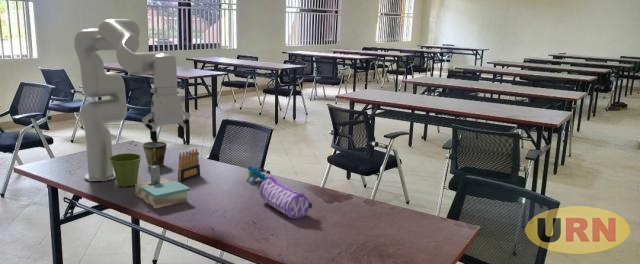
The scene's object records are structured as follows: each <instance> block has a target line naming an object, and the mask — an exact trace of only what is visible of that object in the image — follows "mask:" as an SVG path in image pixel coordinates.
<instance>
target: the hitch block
mask: <svg viewBox="0 0 640 264" xmlns="http://www.w3.org/2000/svg"><path fill="white" fill-rule="evenodd" d="M167 182H171V180H169V179H167V178H160V184H161V183H167ZM146 186H151V180H150V181H145V182H141V183H137V184H135V186H134V195H135V194H136V195H135V196H137V195H138V196H139V197H140V199H141V198H142V199H143V200H142V199H141V200H142V201H144V202H145V201H146V204H148V203H149V204H150V205H149V204H148V205H149V206H151V207H152V206H153V207H152V208H153V209H155V208H156V209H160V208H163V207H164V208H165V207H168V206H173V205H177V204H180V203H181V204H183V203H186V202H188V195H187V193H188V191H187V192H182V193H178V194H173V195H168V196H164V197H159V198H154V197H153V196H151V195H149V194H148V193H146V192H144V191H143V190H142V187H146ZM138 196H137V197H138ZM139 197H138V198H139Z"/></svg>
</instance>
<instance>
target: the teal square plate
mask: <svg viewBox="0 0 640 264" xmlns="http://www.w3.org/2000/svg"><path fill="white" fill-rule="evenodd" d="M142 190H143V191H144V192H146V193H148V194H149V195H151V196H153V197H154V198H159V197H164V196H168V195H173V194H178V193H182V192H187V193H188V192H190V191H191V187H189V186H187V185H185V184H183V183H182V182H179V181H178V180H173V181H170V182H167V183H161V184H156V185H151V186H146V187H142Z"/></svg>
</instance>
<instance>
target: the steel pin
mask: <svg viewBox="0 0 640 264" xmlns="http://www.w3.org/2000/svg"><path fill="white" fill-rule="evenodd" d="M149 168H150V181H151V185H156V184H160V179H161V173H160V171H161V169H160V168H161V167H159V166H157V165H155V166H151V167H149Z"/></svg>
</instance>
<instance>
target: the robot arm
mask: <svg viewBox="0 0 640 264" xmlns="http://www.w3.org/2000/svg"><path fill="white" fill-rule="evenodd" d="M140 35H141V30H140V26H139V25H138V24H137V22H135V21H134V20H133V19H129V18H109V19H105V20H103V21H101V22H100V23H99V25H98V28H88V29H87V28H86V29H82V30H79V31H78V32H76V34H75V35H74V39H73V40H74V41H73V43H74V44H73V45H74V49H75V53H76V55H77V57H78V62H79V66H80V67H79V68H80V76H81V77H80V78H81V86H82V92H83V94H84V96H86V97H88V98H90V99H91V98H92V99H93V98H101V97H102V98H103V97H109V99H99V100H91V101H89V102H86V103H85V104H83V105H82V106H81V108H80V116H81V119H82V123H83V127H84V134H85V145H86V146H85V147H86V159H87V171H88V172H87V173H86V174H85V175H84V180H85V179H86V180H85V181H87V180H88V182H91V181H102V182H108V180H109V181H112V180H115V179H116V176H115V172H114V168H113V165H112V162H111V160H110V157H111V156H114V155H113V142H112V133H111V132H110V130H109V129H108V128H107V127H106V126H105V125H107V124H112V123H117V122H121V121H124V120H125V119H126V117H127V115H128V107H127V98H126V97H127V96H126V85H125V81H124V79H123V76H122V75H121V74H119V73H118V72H115V71H106V72H105V67H104V61H103V58H102V57H101V56H100V54H99V53H97V52H115V51H116V54H115V56H116V59H117V62H118V65H119V66H120V67H121V68H122V69H124V70H125V72H127V73H129V74H130V75H132V76H146V75H153V88H150V93H152V94H153V95H152V98H151V99H152V100H151V104H150V105H151V107H150V113H148V114H147V115H145V116H143V117H142V118H141V121H142V123H143V125H144V126H145V128H147V129H148V131H149V136H150V138H149V139H150V140H151V142H152V141H153V142H155V143H156V142H157V141H158V130H157V128H158V127H159V126H161V127H163V126H170V125H176V124H177V125H178V126H177V137H178V138H180V139H181V140H183V139H185V138H184V136H185V127H186V125H187V124H188V123H189V120H190V119H191V116H192V114H191V113H189V112H188V111H185V110H183V103H182V98H181V95H180V94H179V93H178V73H177V71H178V70H177V68H178V67H177V58H176V56H175V55H174V54H167V53H163V52H159V51H151V52H150V51H149V52H148V51H147V52H146V51H145V52H137V51H138V49H139V47H140V39H139V38H140ZM149 120H151V123H149ZM114 178H115V179H114ZM111 179H112V180H111Z"/></svg>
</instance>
